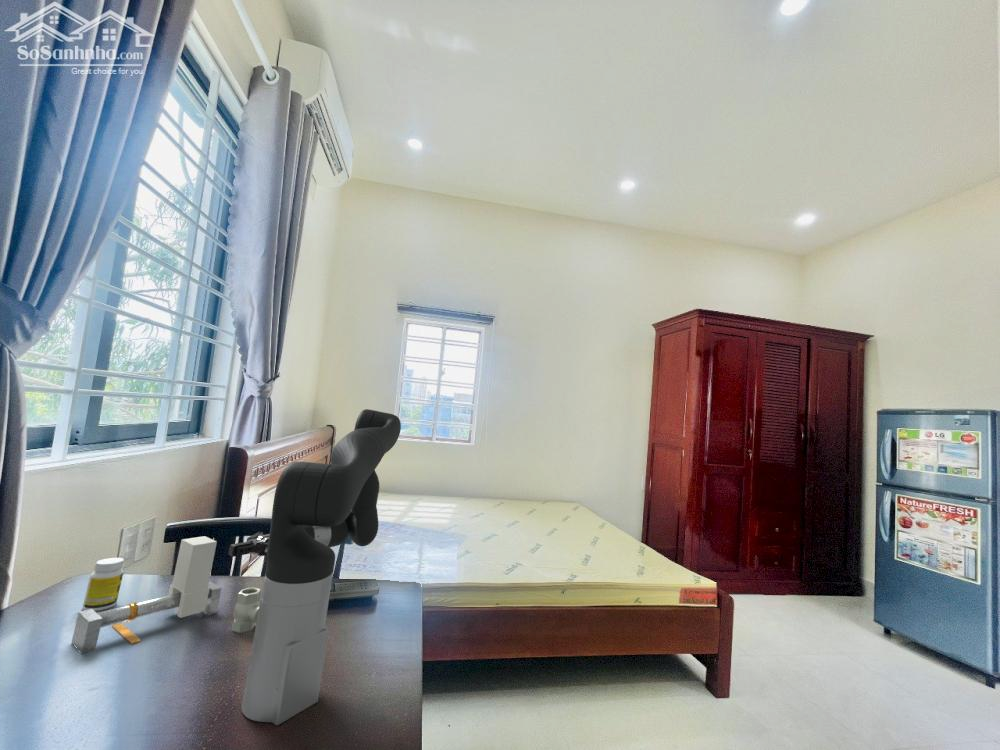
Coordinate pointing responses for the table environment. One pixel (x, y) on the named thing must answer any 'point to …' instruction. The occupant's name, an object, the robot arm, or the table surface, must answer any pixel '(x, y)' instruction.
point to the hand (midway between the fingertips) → (231, 550)
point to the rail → (129, 617)
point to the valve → (246, 610)
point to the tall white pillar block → (193, 574)
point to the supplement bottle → (104, 584)
